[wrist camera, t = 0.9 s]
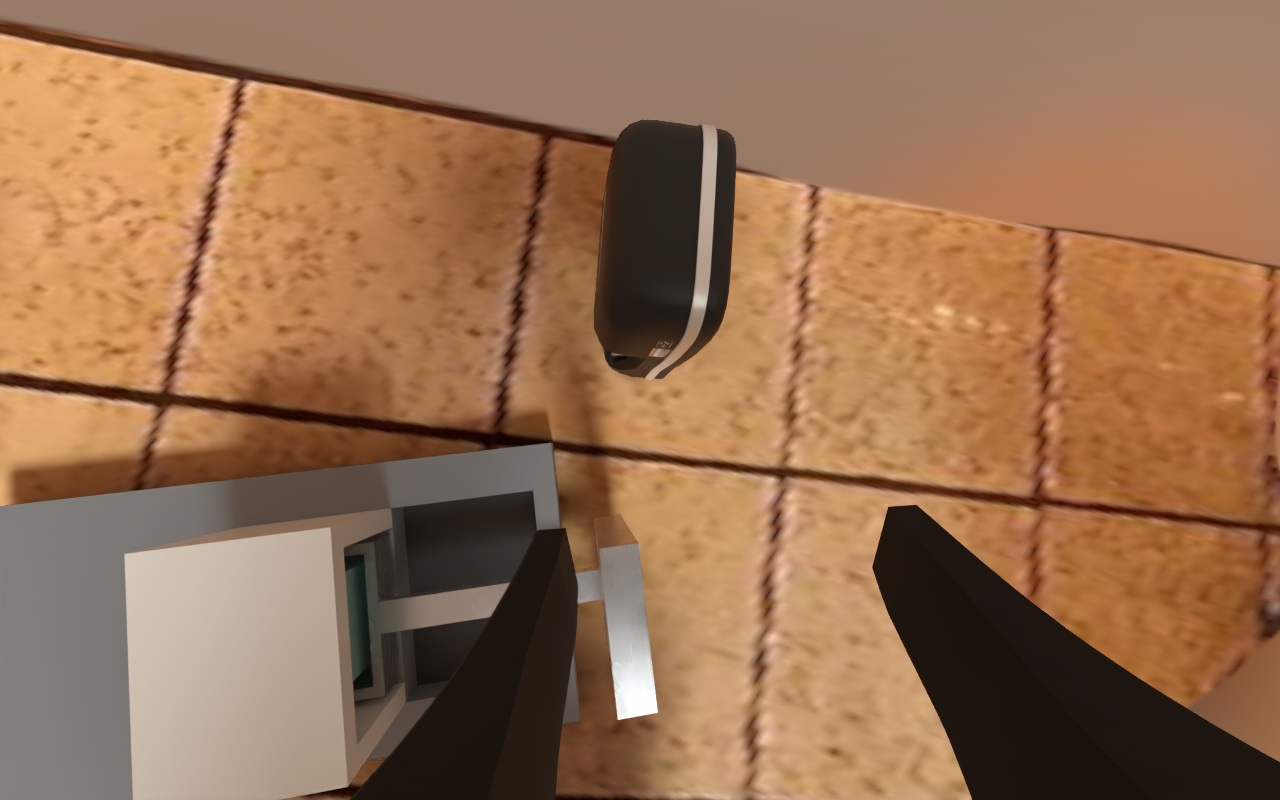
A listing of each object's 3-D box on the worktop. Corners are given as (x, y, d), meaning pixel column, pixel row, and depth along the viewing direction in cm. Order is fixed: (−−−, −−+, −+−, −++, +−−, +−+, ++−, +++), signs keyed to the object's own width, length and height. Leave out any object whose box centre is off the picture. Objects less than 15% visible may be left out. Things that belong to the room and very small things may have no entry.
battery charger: (598, 241, 26) (613, 80, 15) (673, 250, 26) (743, 99, 15) (587, 378, 25) (593, 321, 14) (664, 385, 26) (731, 334, 14)
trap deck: (579, 703, 24) (579, 721, 22) (24, 802, 21) (-23, 832, 19) (552, 443, 25) (551, 442, 23) (18, 504, 22) (-26, 509, 20)
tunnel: (406, 702, 21) (347, 786, 16) (249, 729, 21) (133, 827, 15) (391, 508, 22) (330, 527, 17) (239, 527, 21) (124, 553, 16)
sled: (634, 638, 22) (659, 726, 15) (247, 702, 20) (70, 838, 13) (619, 504, 23) (636, 530, 16) (240, 555, 21) (64, 609, 14)
